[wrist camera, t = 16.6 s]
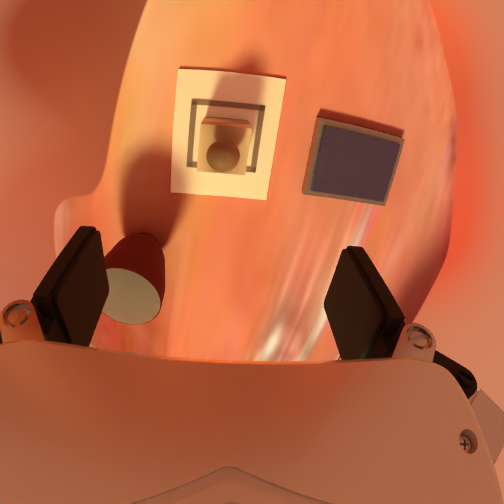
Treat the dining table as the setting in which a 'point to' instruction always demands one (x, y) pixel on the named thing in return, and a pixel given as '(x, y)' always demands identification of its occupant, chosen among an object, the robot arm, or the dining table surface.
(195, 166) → the card
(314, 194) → the ink pad
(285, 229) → the dining table surface
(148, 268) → the mug
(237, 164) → the stamp
